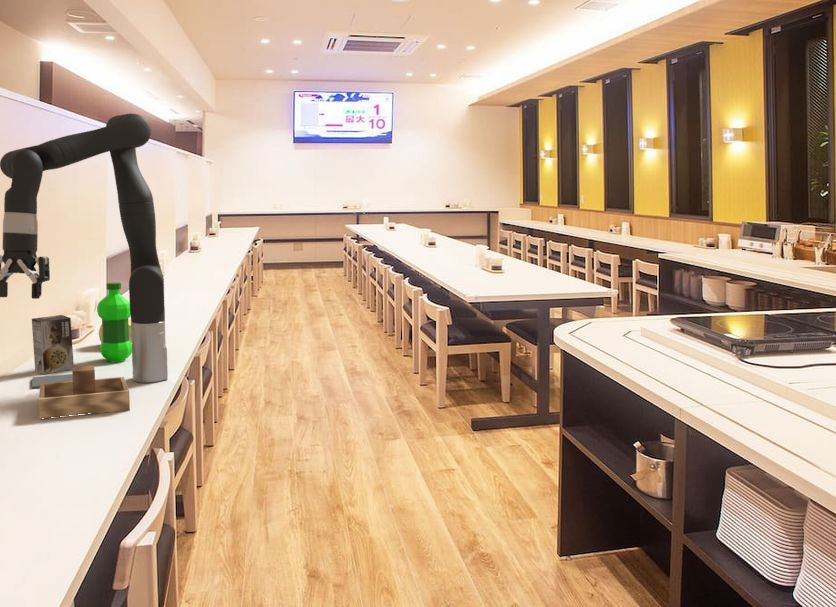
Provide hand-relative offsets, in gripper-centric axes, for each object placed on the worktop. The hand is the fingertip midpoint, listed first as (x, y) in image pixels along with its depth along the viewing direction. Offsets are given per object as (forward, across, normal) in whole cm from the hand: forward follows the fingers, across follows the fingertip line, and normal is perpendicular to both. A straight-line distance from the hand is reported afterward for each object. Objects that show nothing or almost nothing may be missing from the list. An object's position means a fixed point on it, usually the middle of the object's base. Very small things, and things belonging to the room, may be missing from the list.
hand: (19, 297), depth 177 cm
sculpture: (+20, +14, -73) cm, 77 cm away
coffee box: (+24, +15, -38) cm, 47 cm away
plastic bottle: (+22, +3, -53) cm, 58 cm away
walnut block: (+27, -14, -6) cm, 31 cm away
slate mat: (+25, +7, -25) cm, 36 cm away
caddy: (+27, -14, -6) cm, 31 cm away
